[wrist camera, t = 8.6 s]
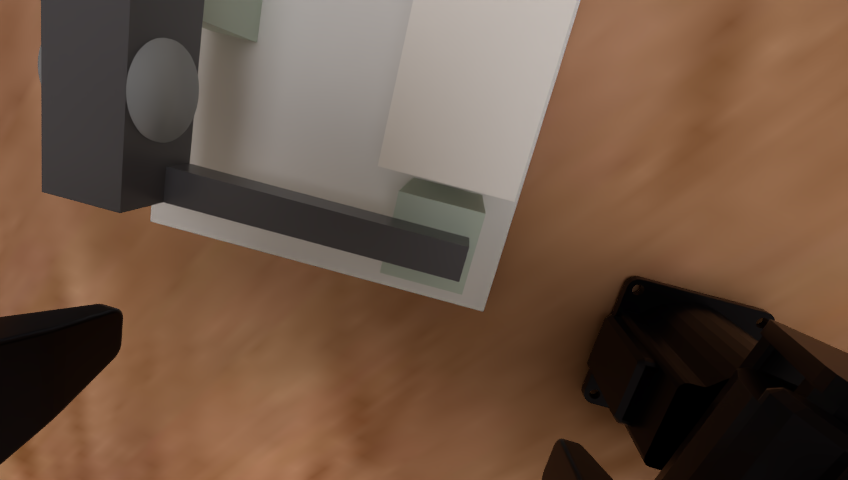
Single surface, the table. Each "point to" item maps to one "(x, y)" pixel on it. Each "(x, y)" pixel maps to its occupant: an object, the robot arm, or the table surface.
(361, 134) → the display stand
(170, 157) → the glasses
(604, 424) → the table surface
